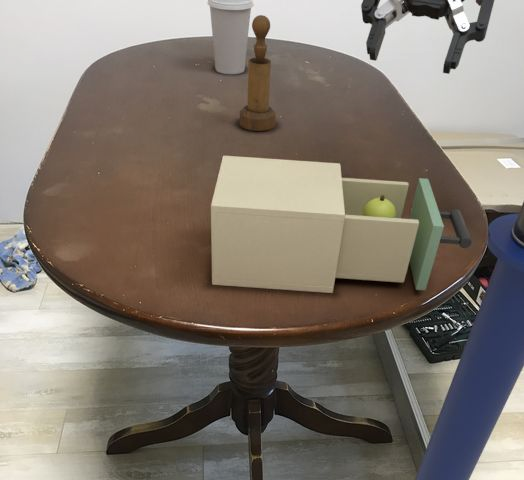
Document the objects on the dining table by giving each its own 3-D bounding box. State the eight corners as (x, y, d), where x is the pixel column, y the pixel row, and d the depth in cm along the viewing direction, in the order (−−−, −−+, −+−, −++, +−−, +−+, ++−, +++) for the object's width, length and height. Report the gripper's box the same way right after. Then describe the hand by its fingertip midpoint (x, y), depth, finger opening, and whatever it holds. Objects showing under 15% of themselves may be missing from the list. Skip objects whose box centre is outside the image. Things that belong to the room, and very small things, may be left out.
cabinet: (329, 237, 81) (340, 163, 74) (332, 293, 72) (345, 214, 65) (223, 230, 82) (223, 155, 74) (212, 284, 72) (210, 205, 65)
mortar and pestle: (265, 116, 112) (271, 10, 100) (281, 129, 108) (288, 19, 96) (233, 120, 110) (235, 12, 98) (248, 133, 106) (251, 22, 94)
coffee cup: (212, 77, 127) (211, -2, 117) (205, 63, 134) (203, -13, 124) (255, 76, 129) (258, -2, 119) (246, 62, 136) (248, -13, 126)
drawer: (446, 241, 80) (464, 181, 74) (462, 293, 72) (484, 229, 66) (313, 232, 80) (320, 171, 74) (313, 282, 72) (322, 217, 66)
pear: (391, 242, 77) (404, 185, 72) (395, 266, 73) (409, 208, 68) (348, 239, 77) (358, 182, 72) (350, 263, 73) (360, 205, 68)
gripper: (390, -106, 65) (345, 33, 65) (523, -93, 62) (476, 54, 61) (392, -55, 72) (351, 70, 72) (511, -40, 69) (469, 91, 69)
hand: (409, 63), depth 67 cm, fingers open, 8 cm apart
